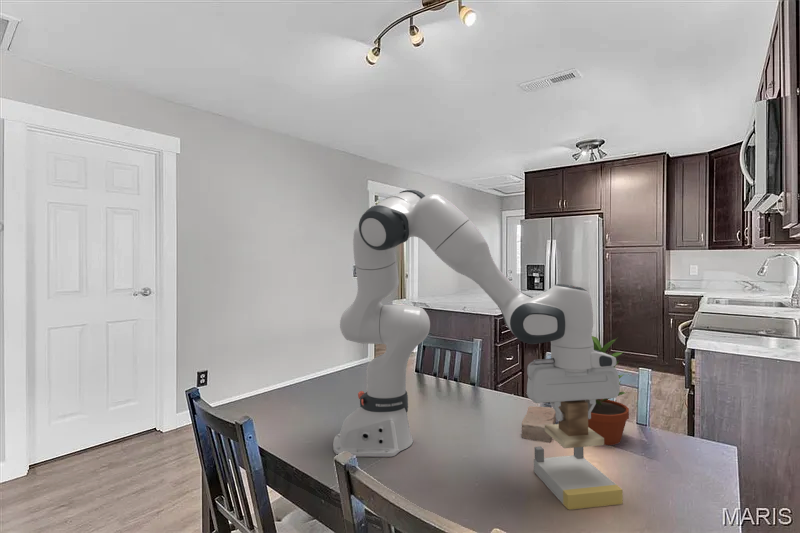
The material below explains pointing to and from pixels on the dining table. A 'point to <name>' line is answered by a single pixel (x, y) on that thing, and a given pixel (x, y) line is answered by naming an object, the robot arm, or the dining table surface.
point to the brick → (538, 423)
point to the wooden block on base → (574, 427)
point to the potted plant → (608, 410)
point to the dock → (576, 480)
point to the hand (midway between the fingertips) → (573, 419)
